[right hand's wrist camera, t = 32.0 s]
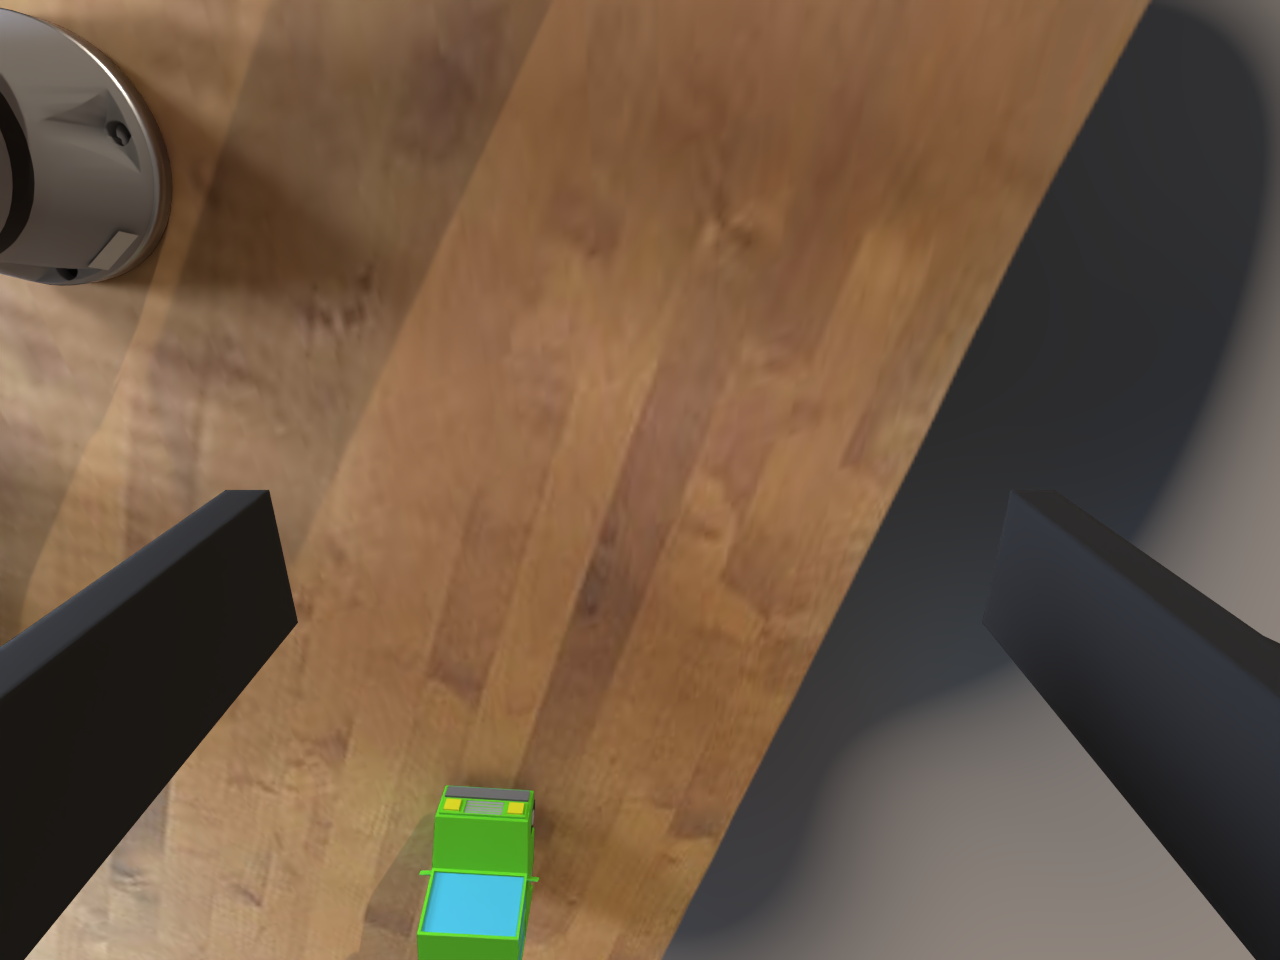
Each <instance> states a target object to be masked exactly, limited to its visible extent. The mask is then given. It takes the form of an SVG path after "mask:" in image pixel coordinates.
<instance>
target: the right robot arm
mask: <svg viewBox="0 0 1280 960" xmlns="http://www.w3.org/2000/svg"><path fill="white" fill-rule="evenodd" d="M171 201H172V177H171V169H170V163H169V158H168V154H167V150H166V146H165V143H164V140H163V138H162V135H161V132H160V130H159V128H158V125H157V123H156V121H155V119H154V117H153V115H152V113H151V111H150V109H149V107H148V106H147V104H146V103H145V101H144V99H143V98H142V96H141V95H140V93H139V92H138V91H137V89H136V88H135V87H134V85H133V84H132V82H131V81H130V80H129V79H128V78H127V77H126V75H125V74H124V73H123V72H122V71H121V70H120V69H119V68H118V67H117V66H116V65H115V64H114V63H113V62H112V61H111V60H110V59H109V58H108V57H107V56H106V55H104V54H103V53H102V52H101V51H100V50H98V49H97V48H96V47H94V46H93V45H92V44H90V43H89V42H88V41H86V40H84V39H83V38H81V37H80V36H78V35H76V34H75V33H73V32H71V31H69V30H67V29H65V28H63V27H61V26H59V25H56V24H54V23H51V22H49V21H46V20H42V19H39V18H36V17H33V16H29V15H26V14H23V13H19V12H16V11H13V10H8V9H3V8H0V274H4V275H8V276H12V277H16V278H20V279H24V280H28V281H33V282H38V283H44V284H50V285H78V284H85V283H92V282H99V281H104V280H108V279H112V278H115V277H118V276H120V275H123V274H125V273H127V272H128V271H130V270H132V269H133V268H135V267H136V266H138V265H139V264H140V263H142V262H143V261H144V260H145V259H146V258H147V257H148V256H149V255H150V253H151V252H152V251H153V250H154V248H155V247H156V245H157V244H158V242H159V241H160V239H161V237H162V235H163V233H164V230H165V228H166V225H167V222H168V218H169V214H170V209H171ZM297 623H298V621H297V616H296V611H295V607H294V602H293V598H292V593H291V588H290V584H289V579H288V575H287V570H286V565H285V561H284V556H283V552H282V547H281V543H280V538H279V533H278V529H277V524H276V520H275V515H274V510H273V506H272V501H271V497H270V492H269V490H225V491H224V492H222V493H221V494H219V495H218V496H217V497H215V498H214V499H212V500H211V501H209V502H208V503H207V504H205V505H204V506H202V507H201V508H199V509H198V510H197V511H195V512H194V513H192V514H191V515H189V516H188V517H186V518H185V519H184V520H182V521H181V522H179V523H178V524H176V525H175V526H174V527H172V528H171V529H169V530H168V531H166V532H165V533H164V534H162V535H161V536H159V537H158V538H156V539H155V540H153V541H152V542H151V543H149V544H148V545H146V546H145V547H143V548H142V549H141V550H139V551H138V552H136V553H135V554H133V555H132V556H131V557H129V558H128V559H126V560H125V561H123V562H122V563H120V564H119V565H118V566H116V567H115V568H113V569H112V570H110V571H109V572H108V573H106V574H105V575H103V576H102V577H100V578H99V579H98V580H96V581H95V582H93V583H92V584H90V585H89V586H87V587H86V588H85V589H83V590H82V591H80V592H79V593H77V594H76V595H75V596H73V597H72V598H70V599H69V600H67V601H66V602H65V603H63V604H62V605H60V606H59V607H57V608H56V609H54V610H53V611H52V612H50V613H49V614H47V615H46V616H44V617H43V618H42V619H40V620H39V621H37V622H36V623H34V624H33V625H32V626H30V627H29V628H27V629H26V630H24V631H23V632H22V633H20V634H19V635H17V636H16V637H14V638H13V639H11V640H10V641H9V642H7V643H6V644H4V645H3V646H1V647H0V960H24V959H25V958H26V957H27V956H28V954H29V953H30V952H31V951H32V949H33V948H34V947H35V946H36V945H37V943H38V942H39V941H40V940H41V938H42V937H43V936H44V935H45V933H46V932H47V931H48V930H49V929H50V927H51V926H52V925H53V924H54V922H55V921H56V920H57V919H58V917H59V916H60V915H61V914H62V913H63V911H64V910H65V909H66V908H67V906H68V905H69V904H70V903H71V901H72V900H73V899H74V898H75V897H76V895H77V894H78V893H79V892H80V890H81V889H82V888H83V887H84V885H85V884H86V883H87V882H88V880H89V879H90V878H91V877H92V876H93V874H94V873H95V872H96V871H97V869H98V868H99V867H100V866H101V864H102V863H103V862H104V861H105V860H106V858H107V857H108V856H109V855H110V853H111V852H112V851H113V850H114V848H115V847H116V846H117V845H118V844H119V842H120V841H121V840H122V839H123V837H124V836H125V835H126V834H127V832H128V831H129V830H130V829H131V828H132V826H133V825H134V824H135V823H136V821H137V820H138V819H139V818H140V816H141V815H142V814H143V813H144V812H145V810H146V809H147V808H148V807H149V805H150V804H151V803H152V802H153V800H154V799H155V798H156V797H157V796H158V794H159V793H160V792H161V791H162V789H163V788H164V787H165V786H166V784H167V783H168V782H169V781H170V780H171V778H172V777H173V776H174V775H175V773H176V772H177V771H178V770H179V768H180V767H181V766H182V765H183V764H184V762H185V761H186V760H187V759H188V757H189V756H190V755H191V754H192V752H193V751H194V750H195V749H196V747H197V746H198V745H199V744H200V743H201V741H202V740H203V739H204V738H205V736H206V735H207V734H208V733H209V731H210V730H211V729H212V728H213V727H214V725H215V724H216V723H217V722H218V720H219V719H220V718H221V717H222V715H223V714H224V713H225V712H226V711H227V709H228V708H229V707H230V706H231V704H232V703H233V702H234V701H235V699H236V698H237V697H238V696H239V695H240V693H241V692H242V691H243V690H244V688H245V687H246V686H247V685H248V683H249V682H250V681H251V680H252V679H253V677H254V676H255V675H256V674H257V672H258V671H259V670H260V669H261V667H262V666H263V665H264V664H265V663H266V661H267V660H268V659H269V658H270V656H271V655H272V654H273V653H274V651H275V650H276V649H277V648H278V647H279V645H280V644H281V643H282V642H283V640H284V639H285V638H286V637H287V635H288V634H289V633H290V632H291V630H292V629H293V628H294V627H295V626H296V624H297ZM982 623H983V624H984V626H985V627H986V628H987V629H988V630H989V632H990V633H991V634H992V635H993V637H994V638H995V639H996V640H997V642H998V643H999V644H1000V645H1001V646H1002V648H1003V649H1004V650H1005V651H1006V653H1007V654H1008V655H1009V656H1010V658H1011V659H1012V660H1013V661H1014V663H1015V664H1016V665H1017V666H1018V667H1019V669H1020V670H1021V671H1022V672H1023V674H1024V675H1025V676H1026V677H1027V679H1028V680H1029V681H1030V682H1031V683H1032V685H1033V686H1034V687H1035V688H1036V690H1037V691H1038V692H1039V693H1040V695H1041V696H1042V697H1043V698H1044V699H1045V701H1046V702H1047V703H1048V704H1049V706H1050V707H1051V708H1052V709H1053V710H1054V712H1055V713H1056V714H1057V715H1058V717H1059V718H1060V719H1061V720H1062V722H1063V723H1064V724H1065V725H1066V727H1067V728H1068V729H1069V730H1070V731H1071V733H1072V734H1073V735H1074V736H1075V738H1076V739H1077V740H1078V741H1079V743H1080V744H1081V745H1082V746H1083V747H1084V749H1085V750H1086V751H1087V752H1088V754H1089V755H1090V756H1091V757H1092V759H1093V760H1094V761H1095V762H1096V763H1097V765H1098V766H1099V767H1100V768H1101V770H1102V771H1103V772H1104V773H1105V775H1106V776H1107V777H1108V778H1109V779H1110V781H1111V782H1112V783H1113V784H1114V786H1115V787H1116V788H1117V789H1118V791H1119V792H1120V793H1121V794H1122V795H1123V797H1124V798H1125V799H1126V800H1127V802H1128V803H1129V804H1130V805H1131V807H1132V808H1133V809H1134V810H1135V812H1136V813H1137V814H1138V815H1139V816H1140V818H1141V819H1142V820H1143V821H1144V823H1145V824H1146V825H1147V826H1148V828H1149V829H1150V830H1151V831H1152V832H1153V834H1154V835H1155V836H1156V837H1157V839H1158V840H1159V841H1160V842H1161V844H1162V845H1163V846H1164V847H1165V848H1166V850H1167V851H1168V852H1169V853H1170V855H1171V856H1172V857H1173V858H1174V860H1175V861H1176V862H1177V863H1178V864H1179V866H1180V867H1181V868H1182V869H1183V871H1184V872H1185V873H1186V874H1187V876H1188V877H1189V878H1190V879H1191V880H1192V882H1193V883H1194V884H1195V885H1196V887H1197V888H1198V889H1199V890H1200V892H1201V893H1202V894H1203V895H1204V896H1205V898H1206V899H1207V900H1208V901H1209V903H1210V904H1211V905H1212V906H1213V908H1214V909H1215V910H1216V911H1217V913H1218V914H1219V915H1220V916H1221V917H1222V919H1223V920H1224V921H1225V922H1226V924H1227V925H1228V926H1229V927H1230V928H1231V930H1232V931H1233V932H1234V933H1235V935H1236V936H1237V937H1238V938H1239V940H1240V941H1241V942H1242V943H1243V945H1244V946H1245V947H1246V948H1247V949H1248V951H1249V952H1250V953H1251V954H1252V956H1253V957H1254V958H1255V959H1256V960H1280V644H1279V643H1277V642H1275V641H1273V640H1271V639H1269V638H1267V637H1265V636H1263V635H1261V634H1260V633H1258V632H1257V631H1256V630H1254V629H1253V628H1251V627H1250V626H1248V625H1247V624H1246V623H1244V622H1243V621H1241V620H1240V619H1238V618H1237V617H1236V616H1234V615H1233V614H1231V613H1230V612H1228V611H1227V610H1226V609H1224V608H1223V607H1221V606H1220V605H1218V604H1217V603H1215V602H1214V601H1213V600H1211V599H1210V598H1208V597H1207V596H1205V595H1204V594H1203V593H1201V592H1200V591H1198V590H1197V589H1195V588H1194V587H1192V586H1191V585H1190V584H1188V583H1187V582H1185V581H1184V580H1182V579H1181V578H1180V577H1178V576H1177V575H1175V574H1174V573H1172V572H1171V571H1170V570H1168V569H1167V568H1165V567H1164V566H1162V565H1161V564H1160V563H1158V562H1157V561H1155V560H1154V559H1152V558H1151V557H1149V556H1148V555H1147V554H1145V553H1144V552H1142V551H1141V550H1139V549H1138V548H1136V547H1135V546H1134V545H1132V544H1131V543H1129V542H1128V541H1127V540H1125V539H1124V538H1122V537H1121V536H1119V535H1118V534H1116V533H1115V532H1114V531H1112V530H1111V529H1109V528H1108V527H1106V526H1105V525H1103V524H1102V523H1101V522H1099V521H1098V520H1096V519H1095V518H1094V517H1092V516H1091V515H1089V514H1088V513H1086V512H1085V511H1083V510H1082V509H1081V508H1079V507H1078V506H1076V505H1075V504H1073V503H1072V502H1070V501H1069V500H1068V499H1066V498H1065V497H1063V496H1062V495H1061V494H1059V493H1058V492H1056V491H1055V490H1011V492H1010V497H1009V501H1008V506H1007V510H1006V515H1005V520H1004V524H1003V529H1002V533H1001V538H1000V543H999V547H998V552H997V556H996V561H995V566H994V570H993V575H992V579H991V584H990V588H989V593H988V598H987V602H986V607H985V611H984V616H983V621H982Z"/></svg>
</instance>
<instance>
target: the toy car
mask: <svg viewBox="0 0 1280 960" xmlns="http://www.w3.org/2000/svg"><path fill="white" fill-rule="evenodd" d="M534 810H535V800H534V791H530V790H514V789H497V788H481V787H465V786H448V785H446V786H445V789H444V792H443V795H442V798H441V801H440V804H439V807H438V810H437V813H436V816H435V829H434V846H433V864H432V871H420V874H419V875H431V876H430V880H429V884H428V889H427V893H426V897H425V902H424V906H423V910H422V915H421V919H420V923H419V928H418V932H417V944H418V960H522V956H523V950H524V943H525V937H526V930H527V924H528V917H529V911H530V905H531V898H532V891H533V885H531V882H532V881H534V882H538V880H539V878H540V877H532V873H533V860H534V827H533V822H534V813H535V812H534Z"/></svg>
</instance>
